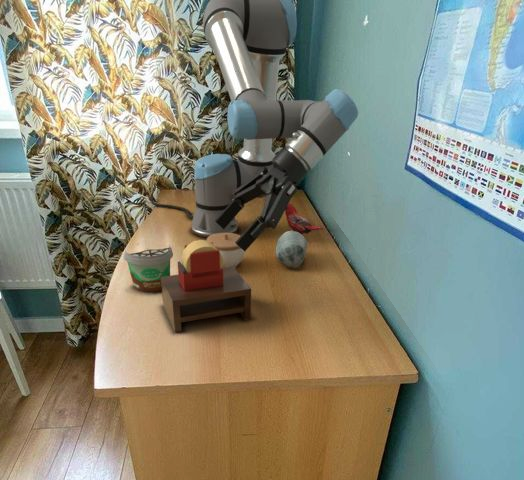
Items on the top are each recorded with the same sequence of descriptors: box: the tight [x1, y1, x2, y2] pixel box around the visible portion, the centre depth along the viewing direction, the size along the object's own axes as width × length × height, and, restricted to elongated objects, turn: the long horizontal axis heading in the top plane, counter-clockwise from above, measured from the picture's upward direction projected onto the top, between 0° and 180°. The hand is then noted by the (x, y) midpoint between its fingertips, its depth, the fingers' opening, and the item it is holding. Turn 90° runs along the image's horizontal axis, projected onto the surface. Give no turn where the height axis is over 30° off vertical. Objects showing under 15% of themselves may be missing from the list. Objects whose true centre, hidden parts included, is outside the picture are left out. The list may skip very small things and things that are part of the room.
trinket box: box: [206, 233, 245, 269], centre depth 128 cm, size 11×11×9 cm
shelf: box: [161, 267, 252, 333], centre depth 106 cm, size 12×18×8 cm, turn 112°
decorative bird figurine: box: [284, 203, 324, 235], centre depth 147 cm, size 3×18×10 cm, turn 43°
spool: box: [275, 230, 308, 269], centre depth 132 cm, size 14×10×10 cm
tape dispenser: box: [177, 239, 223, 291], centre depth 101 cm, size 5×9×10 cm, turn 112°
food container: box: [123, 244, 174, 293], centre depth 114 cm, size 12×6×10 cm, turn 117°
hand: (228, 235), depth 99 cm, fingers open, 13 cm apart
